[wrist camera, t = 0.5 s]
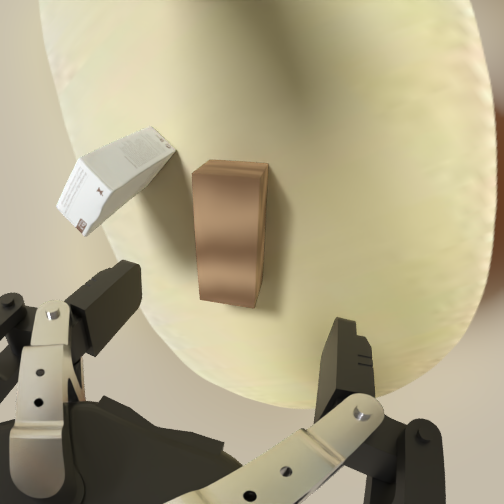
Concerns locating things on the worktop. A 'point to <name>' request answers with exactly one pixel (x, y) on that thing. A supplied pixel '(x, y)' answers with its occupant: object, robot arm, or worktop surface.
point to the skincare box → (112, 177)
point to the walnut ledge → (230, 230)
